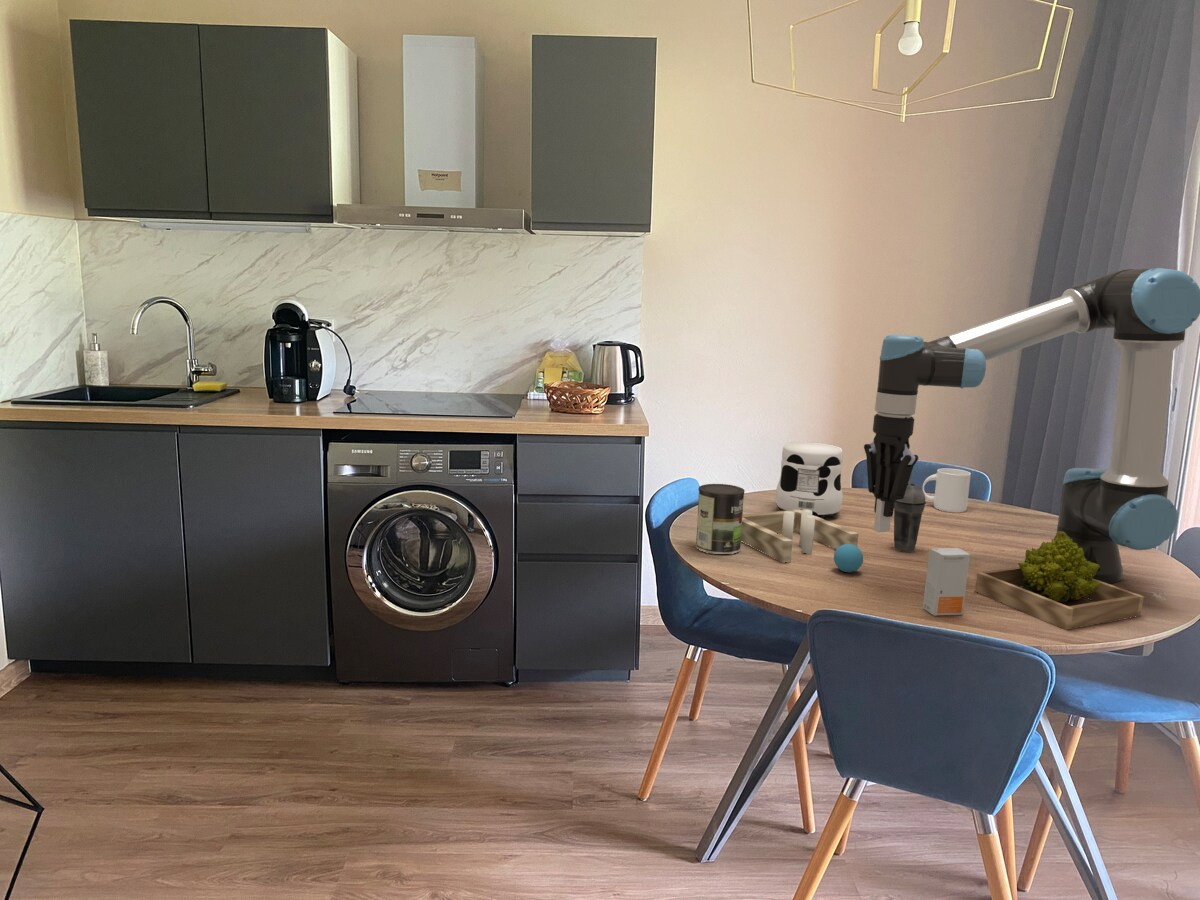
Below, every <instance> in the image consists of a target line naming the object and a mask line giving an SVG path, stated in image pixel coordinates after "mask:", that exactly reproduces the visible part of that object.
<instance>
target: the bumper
mask: <svg viewBox="0 0 1200 900" xmlns="http://www.w3.org/2000/svg"><path fill="white" fill-rule="evenodd" d="M787 511H792V512H794V526H793V533H798V534H800V526H801V513H802V510H799V509H798V510H787ZM783 516H784V511H782V510H777V511H768V512H755V513H744V514H743V515H742V529H741V541H743V542H744V543H746V544H749V545H751V546H752V547H754V548H756V549H758V550H760V551H762V552H764V553H766V554H768V555H770V556H772V557H773V558H772V557H771V558H772V559H774V558H775V559H777V560H779V561H781V562H783V563H782V564H786V563H785V562H791V563H792V555H793V553H792V552H793V539H792V540H790V539H788V538H786V537H784V536H782V529H783ZM813 516H814V515H813ZM777 533H778V534H777ZM813 539H814V540H813V541H816V542H818V543H820V542H821V544H822V543H823V545H824V546H828V547H829V546H830V547H829V548H831V547H832V549H834V550H835V551H836V550H837V548H838V547H840V546H841V545H844V544H852V545H855V546H856V547H858V543H859V533H858V532H855V531H853V530H850V529H849V528H847V527H843V526H842V525H841V526H840V525H838V524H836V523H833V522H831V521H829V520H826V519H824V518H823V517H817V516H815V525H814V537H813ZM744 543H743V544H744ZM746 544H745V545H746ZM752 547H751V548H752ZM754 548H753V549H754ZM756 549H755V550H756ZM758 550H757V551H758ZM760 551H759V552H760ZM762 552H761V553H762ZM764 553H763V554H764ZM766 554H765V555H766ZM768 555H767V556H768ZM770 556H769V557H770ZM775 559H774V560H775ZM777 560H776V561H777ZM779 561H778V562H779ZM781 562H780V563H781Z"/></svg>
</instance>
